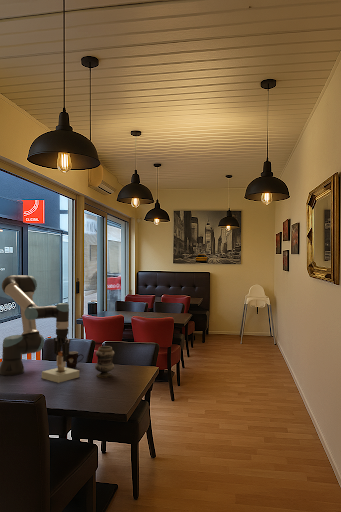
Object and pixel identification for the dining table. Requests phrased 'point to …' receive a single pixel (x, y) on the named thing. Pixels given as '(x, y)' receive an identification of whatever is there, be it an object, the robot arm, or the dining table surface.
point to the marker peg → (60, 369)
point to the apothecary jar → (104, 361)
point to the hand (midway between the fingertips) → (61, 366)
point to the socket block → (60, 374)
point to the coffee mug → (72, 359)
